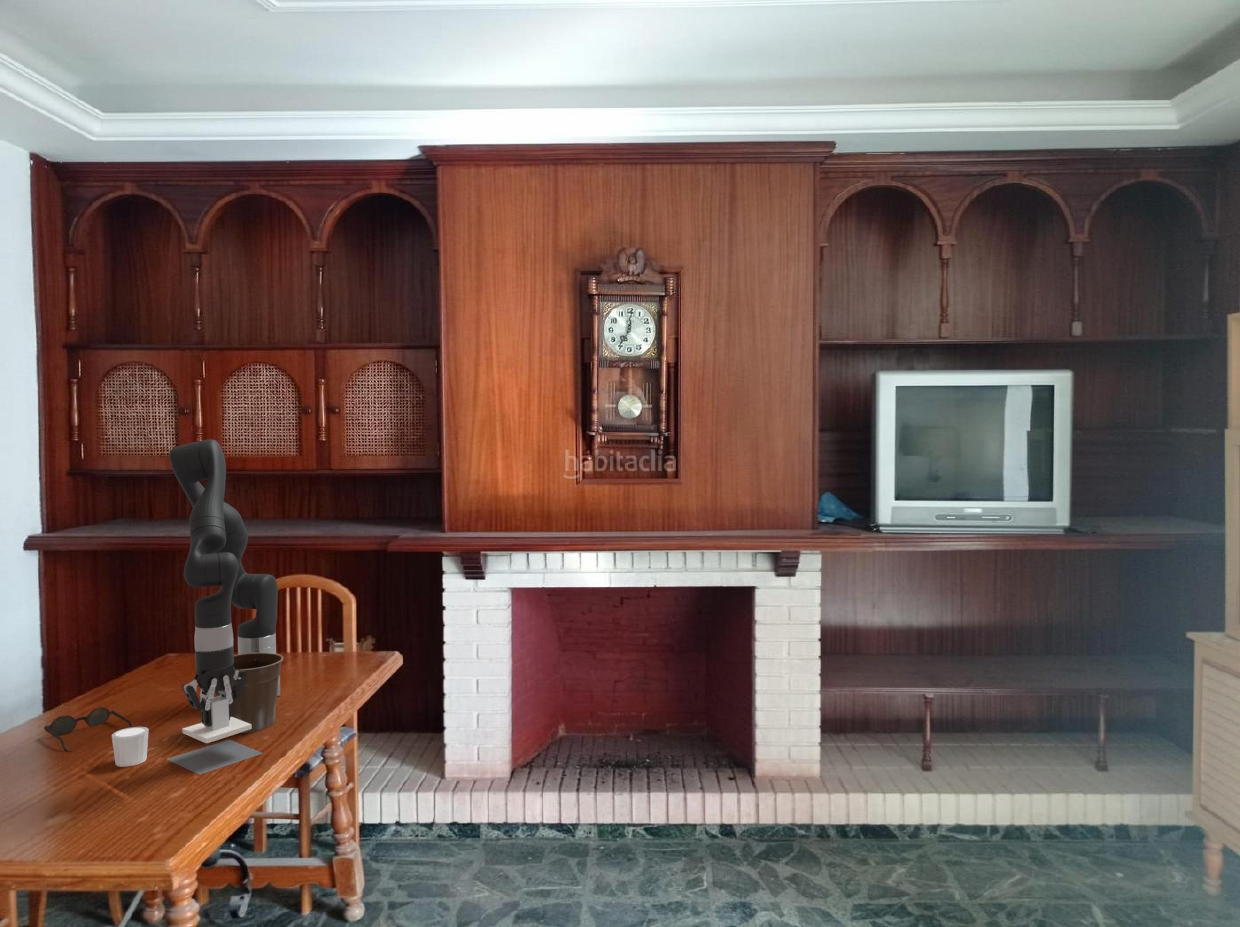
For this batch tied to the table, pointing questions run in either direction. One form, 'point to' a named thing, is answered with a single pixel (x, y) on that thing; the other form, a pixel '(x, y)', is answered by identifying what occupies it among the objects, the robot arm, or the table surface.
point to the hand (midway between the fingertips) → (216, 722)
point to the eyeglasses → (69, 723)
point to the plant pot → (257, 689)
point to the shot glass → (130, 746)
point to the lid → (217, 723)
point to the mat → (214, 756)
